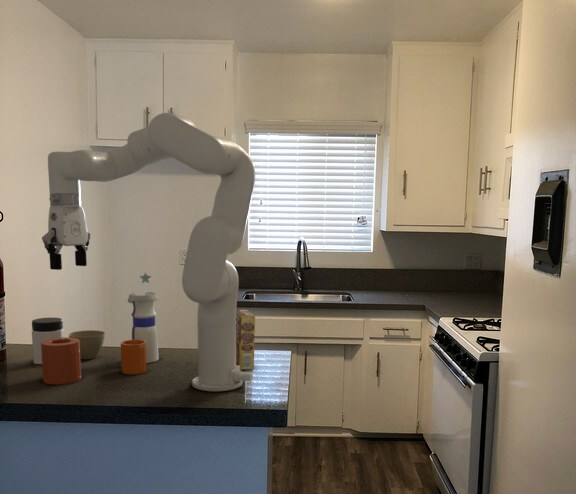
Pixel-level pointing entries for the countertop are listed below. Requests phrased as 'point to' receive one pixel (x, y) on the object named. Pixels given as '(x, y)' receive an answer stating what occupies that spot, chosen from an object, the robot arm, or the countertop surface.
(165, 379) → the countertop surface
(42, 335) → the jar
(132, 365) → the orange cup
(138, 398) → the countertop surface
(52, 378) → the terracotta jar
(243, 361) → the candy box
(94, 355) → the beige bowl
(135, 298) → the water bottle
